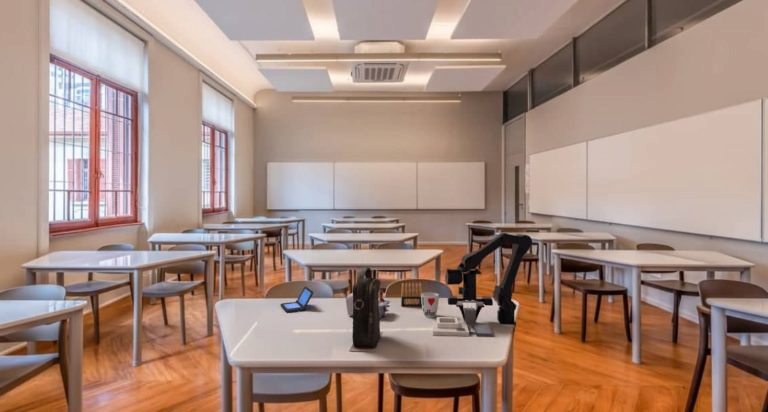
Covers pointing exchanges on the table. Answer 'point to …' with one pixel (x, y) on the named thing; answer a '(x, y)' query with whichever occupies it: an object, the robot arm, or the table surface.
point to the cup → (429, 304)
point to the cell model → (382, 305)
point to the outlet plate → (450, 327)
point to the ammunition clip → (411, 296)
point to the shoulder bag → (366, 312)
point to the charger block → (470, 316)
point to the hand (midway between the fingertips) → (469, 320)
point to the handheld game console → (298, 302)
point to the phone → (483, 330)
